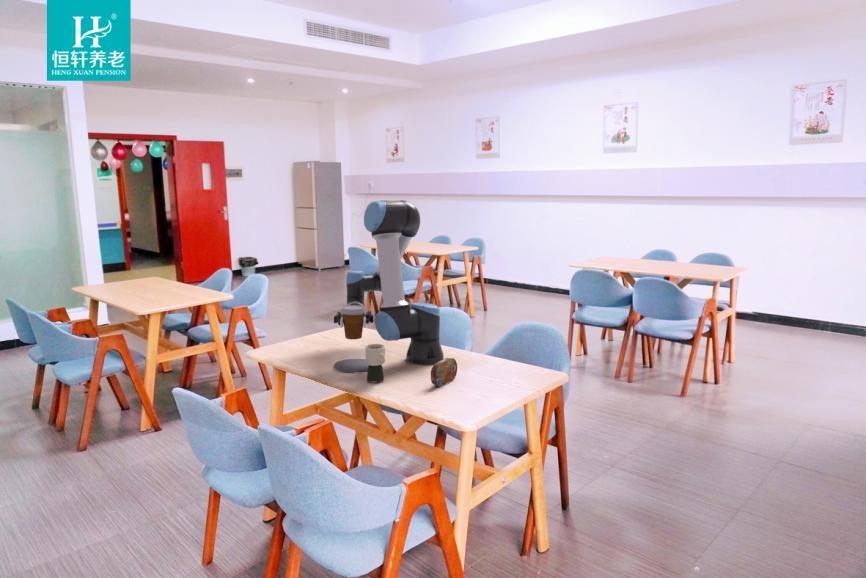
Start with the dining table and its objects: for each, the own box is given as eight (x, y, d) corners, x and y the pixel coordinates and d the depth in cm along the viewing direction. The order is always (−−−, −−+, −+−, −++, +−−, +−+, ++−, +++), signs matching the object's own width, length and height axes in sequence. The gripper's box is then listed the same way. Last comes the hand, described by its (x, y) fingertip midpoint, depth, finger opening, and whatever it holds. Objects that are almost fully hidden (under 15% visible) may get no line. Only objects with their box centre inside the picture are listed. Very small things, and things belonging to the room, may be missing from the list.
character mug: (392, 383, 212) (392, 347, 210) (375, 387, 207) (375, 351, 205) (375, 375, 220) (375, 341, 218) (358, 379, 216) (358, 344, 214)
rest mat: (382, 363, 235) (382, 361, 235) (361, 374, 221) (361, 372, 220) (348, 358, 241) (348, 356, 241) (325, 369, 227) (325, 367, 227)
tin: (436, 389, 206) (436, 366, 204) (428, 387, 207) (429, 364, 206) (457, 378, 218) (458, 356, 217) (450, 376, 220) (450, 354, 218)
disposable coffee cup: (339, 340, 225) (338, 309, 223) (343, 334, 235) (343, 304, 233) (364, 340, 225) (363, 310, 223) (367, 334, 234) (367, 305, 232)
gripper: (380, 320, 248) (380, 333, 226) (329, 320, 246) (325, 334, 224) (380, 302, 247) (380, 313, 225) (329, 303, 245) (324, 314, 222)
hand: (353, 323), depth 224 cm, fingers closed on disposable coffee cup, 8 cm apart
